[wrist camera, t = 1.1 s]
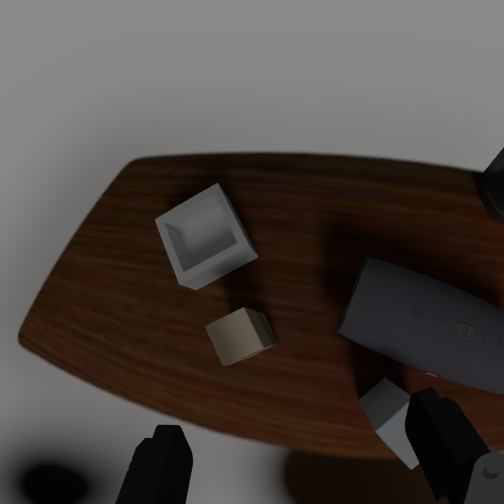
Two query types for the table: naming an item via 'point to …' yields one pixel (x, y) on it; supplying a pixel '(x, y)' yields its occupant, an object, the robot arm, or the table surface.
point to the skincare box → (390, 418)
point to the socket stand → (205, 238)
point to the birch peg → (241, 335)
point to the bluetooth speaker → (426, 325)
